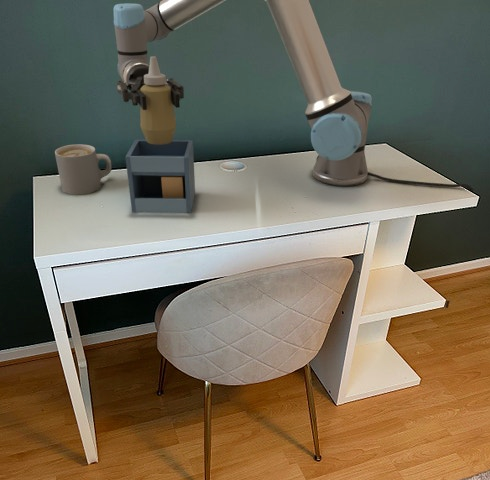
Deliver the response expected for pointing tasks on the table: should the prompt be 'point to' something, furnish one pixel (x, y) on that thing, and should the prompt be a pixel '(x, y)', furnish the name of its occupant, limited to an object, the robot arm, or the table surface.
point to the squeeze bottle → (157, 107)
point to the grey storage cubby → (153, 167)
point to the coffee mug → (80, 168)
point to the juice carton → (173, 186)
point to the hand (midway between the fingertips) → (161, 102)
